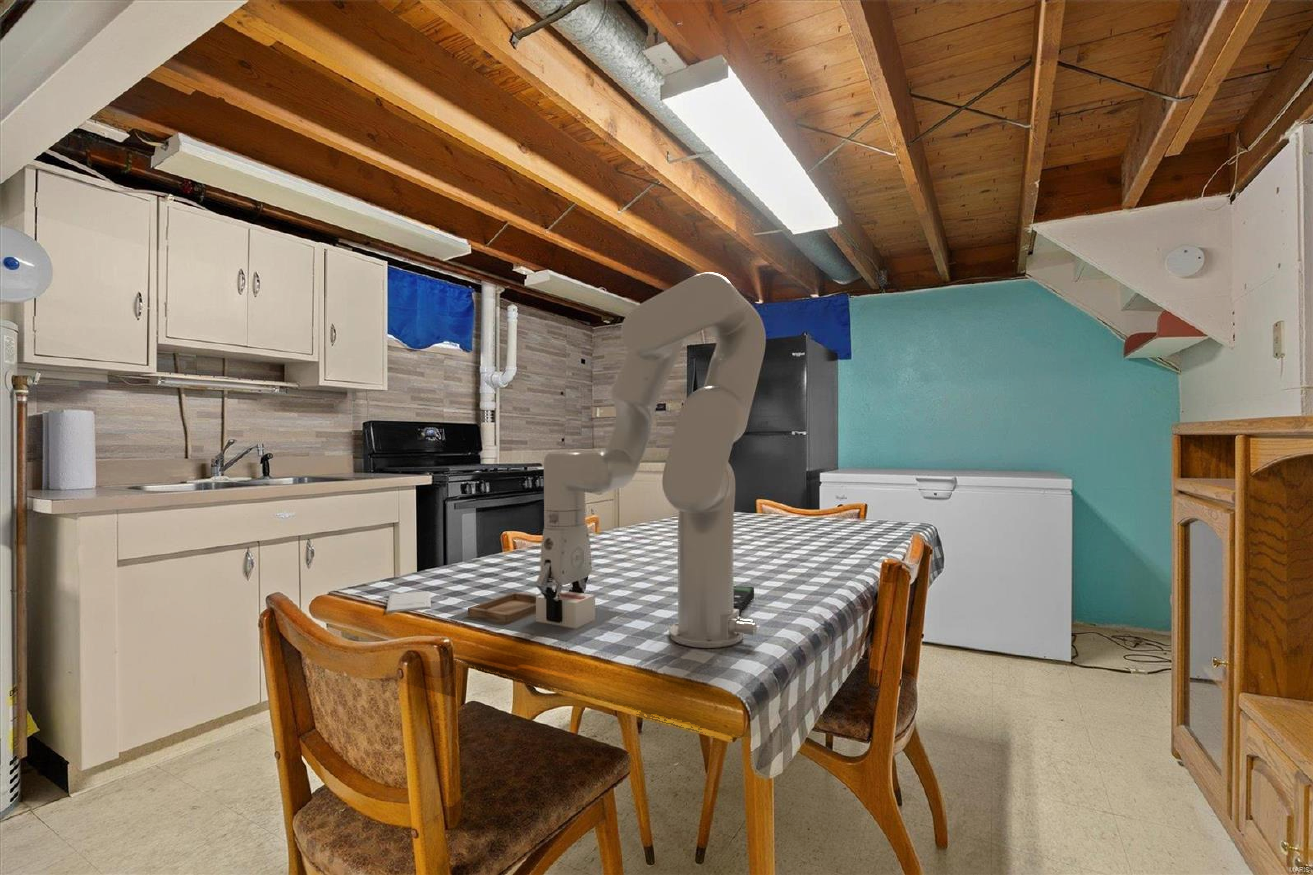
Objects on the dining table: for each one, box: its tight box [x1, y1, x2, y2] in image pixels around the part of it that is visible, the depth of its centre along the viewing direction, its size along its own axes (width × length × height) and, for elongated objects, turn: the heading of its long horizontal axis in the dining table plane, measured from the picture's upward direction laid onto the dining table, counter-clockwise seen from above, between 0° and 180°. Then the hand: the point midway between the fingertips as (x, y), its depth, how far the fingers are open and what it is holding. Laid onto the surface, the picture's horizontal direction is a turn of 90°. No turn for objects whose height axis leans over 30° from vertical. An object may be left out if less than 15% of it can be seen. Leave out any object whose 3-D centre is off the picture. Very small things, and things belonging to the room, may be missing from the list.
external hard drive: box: [385, 590, 432, 615], centre depth 125 cm, size 2×8×12 cm
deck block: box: [536, 589, 596, 628], centre depth 112 cm, size 9×6×5 cm, turn 61°
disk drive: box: [734, 585, 755, 616], centre depth 124 cm, size 10×3×15 cm
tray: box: [467, 591, 538, 624], centre depth 118 cm, size 10×13×2 cm
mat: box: [447, 607, 624, 642], centre depth 115 cm, size 28×18×1 cm, turn 61°
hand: (565, 615), depth 112 cm, fingers closed on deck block, 6 cm apart
